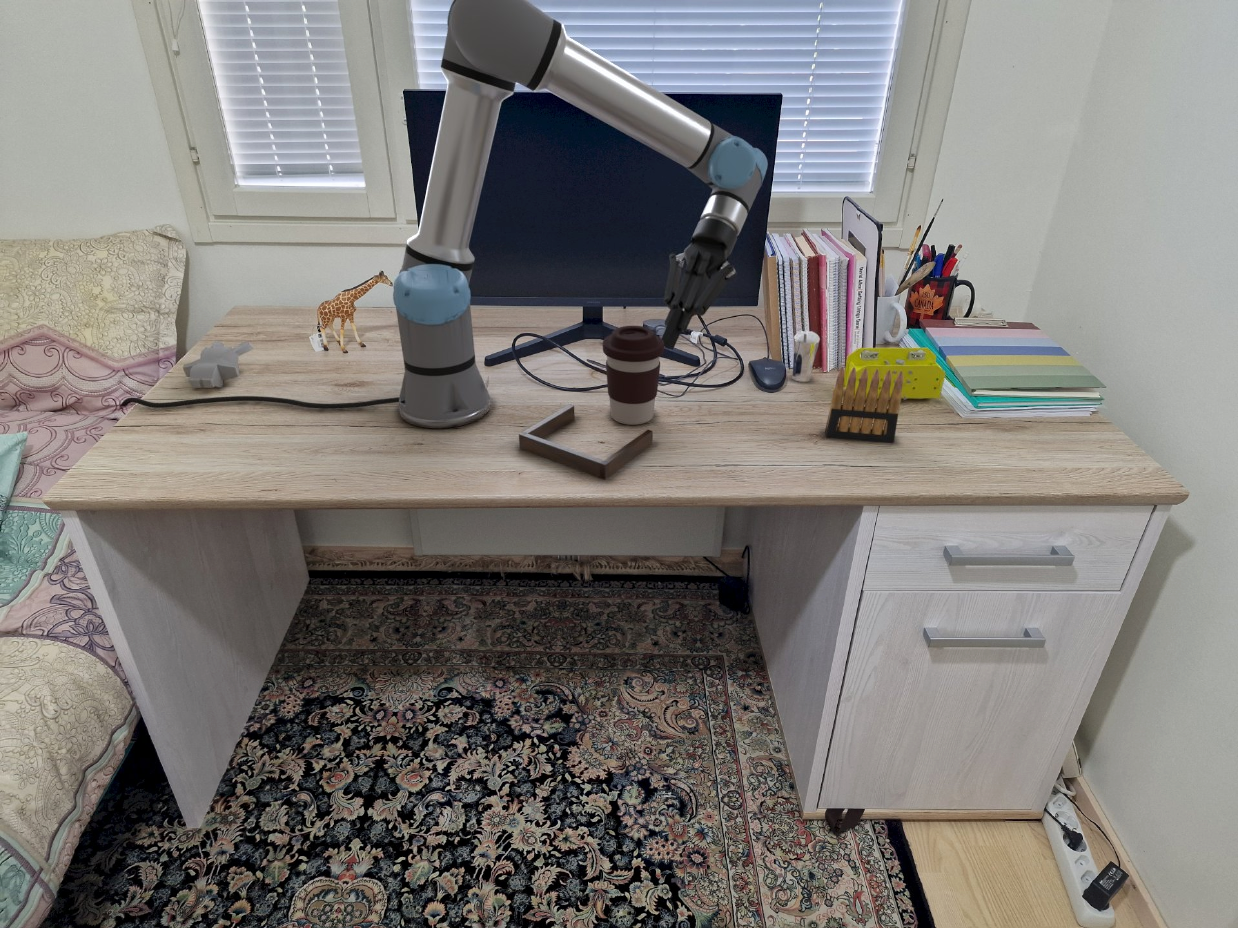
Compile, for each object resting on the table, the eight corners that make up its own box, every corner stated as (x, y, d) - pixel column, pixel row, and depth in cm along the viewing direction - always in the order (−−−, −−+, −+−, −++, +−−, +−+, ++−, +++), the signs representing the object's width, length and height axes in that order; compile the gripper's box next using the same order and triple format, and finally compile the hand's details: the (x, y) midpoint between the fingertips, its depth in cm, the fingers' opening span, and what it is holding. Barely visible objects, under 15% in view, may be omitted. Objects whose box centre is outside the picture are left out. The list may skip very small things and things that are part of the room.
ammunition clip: (825, 437, 123) (836, 368, 117) (824, 431, 125) (835, 364, 119) (893, 443, 122) (908, 373, 116) (892, 437, 123) (907, 369, 117)
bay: (570, 417, 128) (569, 404, 127) (652, 444, 121) (653, 430, 119) (519, 448, 119) (518, 434, 118) (605, 479, 111) (605, 465, 110)
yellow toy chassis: (927, 389, 139) (937, 346, 135) (939, 403, 135) (949, 359, 130) (840, 389, 139) (847, 347, 135) (849, 403, 134) (857, 359, 130)
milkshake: (785, 382, 141) (792, 332, 136) (791, 372, 146) (798, 322, 141) (810, 387, 140) (818, 335, 135) (815, 376, 144) (823, 325, 139)
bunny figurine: (169, 372, 133) (204, 332, 145) (179, 397, 137) (212, 356, 149) (224, 372, 134) (254, 332, 146) (232, 396, 137) (261, 356, 149)
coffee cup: (656, 432, 124) (660, 346, 117) (597, 426, 126) (596, 341, 118) (664, 406, 133) (668, 324, 125) (609, 401, 134) (609, 319, 127)
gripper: (757, 246, 136) (706, 363, 132) (693, 235, 142) (643, 347, 138) (746, 221, 129) (692, 343, 126) (680, 211, 135) (627, 327, 132)
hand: (666, 345), depth 132 cm, fingers closed
